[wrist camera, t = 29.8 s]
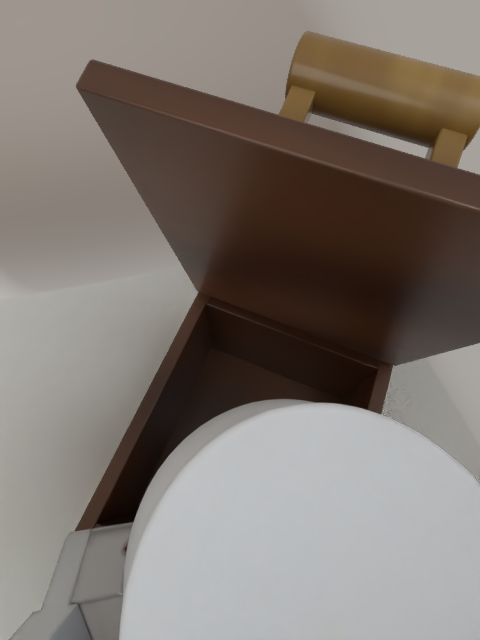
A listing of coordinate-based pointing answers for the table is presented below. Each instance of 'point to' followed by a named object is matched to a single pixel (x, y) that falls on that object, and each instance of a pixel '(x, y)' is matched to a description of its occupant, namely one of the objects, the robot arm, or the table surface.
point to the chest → (226, 391)
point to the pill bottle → (305, 532)
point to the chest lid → (316, 194)
